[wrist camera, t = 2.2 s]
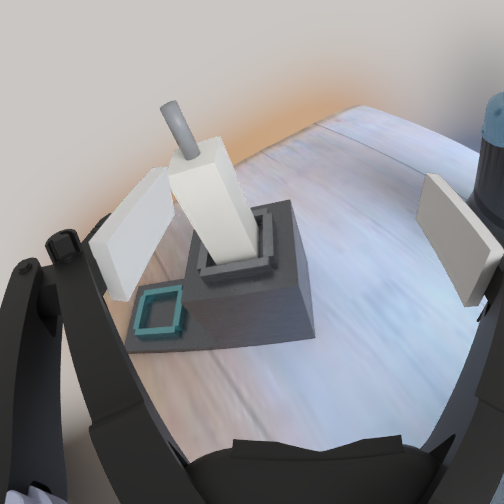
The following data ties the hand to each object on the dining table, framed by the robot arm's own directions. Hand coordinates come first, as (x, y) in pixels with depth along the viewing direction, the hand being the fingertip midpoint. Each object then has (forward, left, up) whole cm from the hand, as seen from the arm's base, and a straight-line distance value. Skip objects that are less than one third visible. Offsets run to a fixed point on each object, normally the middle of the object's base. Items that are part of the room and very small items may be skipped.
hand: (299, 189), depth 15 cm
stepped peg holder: (-4, -19, -26) cm, 32 cm away
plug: (-7, -11, -14) cm, 19 cm away
